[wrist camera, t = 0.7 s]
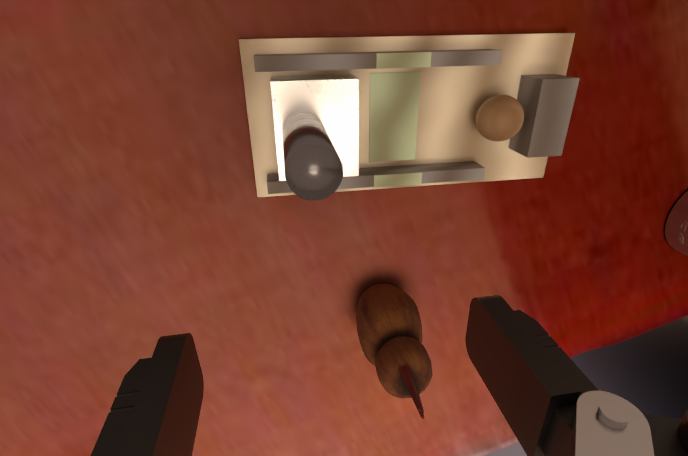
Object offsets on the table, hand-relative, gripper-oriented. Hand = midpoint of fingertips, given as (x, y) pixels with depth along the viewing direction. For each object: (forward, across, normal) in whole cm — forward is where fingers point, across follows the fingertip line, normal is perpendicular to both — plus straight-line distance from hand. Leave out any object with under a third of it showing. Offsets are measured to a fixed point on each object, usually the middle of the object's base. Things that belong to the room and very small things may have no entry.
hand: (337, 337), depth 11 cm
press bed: (+24, -9, -1) cm, 26 cm away
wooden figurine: (+24, -7, +18) cm, 31 cm away
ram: (+23, -1, -1) cm, 23 cm away
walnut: (+23, -16, -1) cm, 28 cm away
